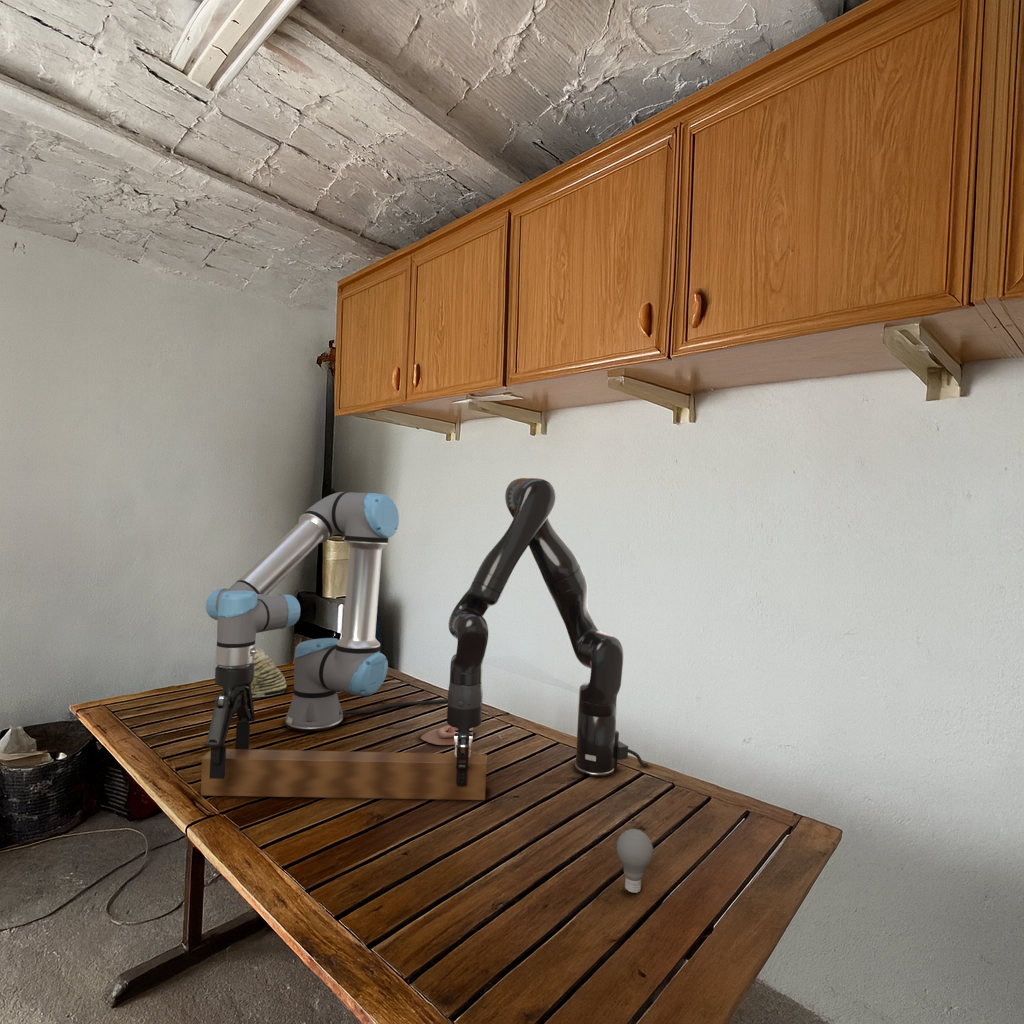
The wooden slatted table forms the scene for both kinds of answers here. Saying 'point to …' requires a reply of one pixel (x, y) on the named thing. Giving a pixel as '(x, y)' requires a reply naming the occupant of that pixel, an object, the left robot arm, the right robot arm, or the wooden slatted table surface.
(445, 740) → the anatomical model
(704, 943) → the wooden slatted table surface
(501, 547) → the right robot arm
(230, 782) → the beam
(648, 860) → the light bulb
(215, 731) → the left robot arm
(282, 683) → the fossil
